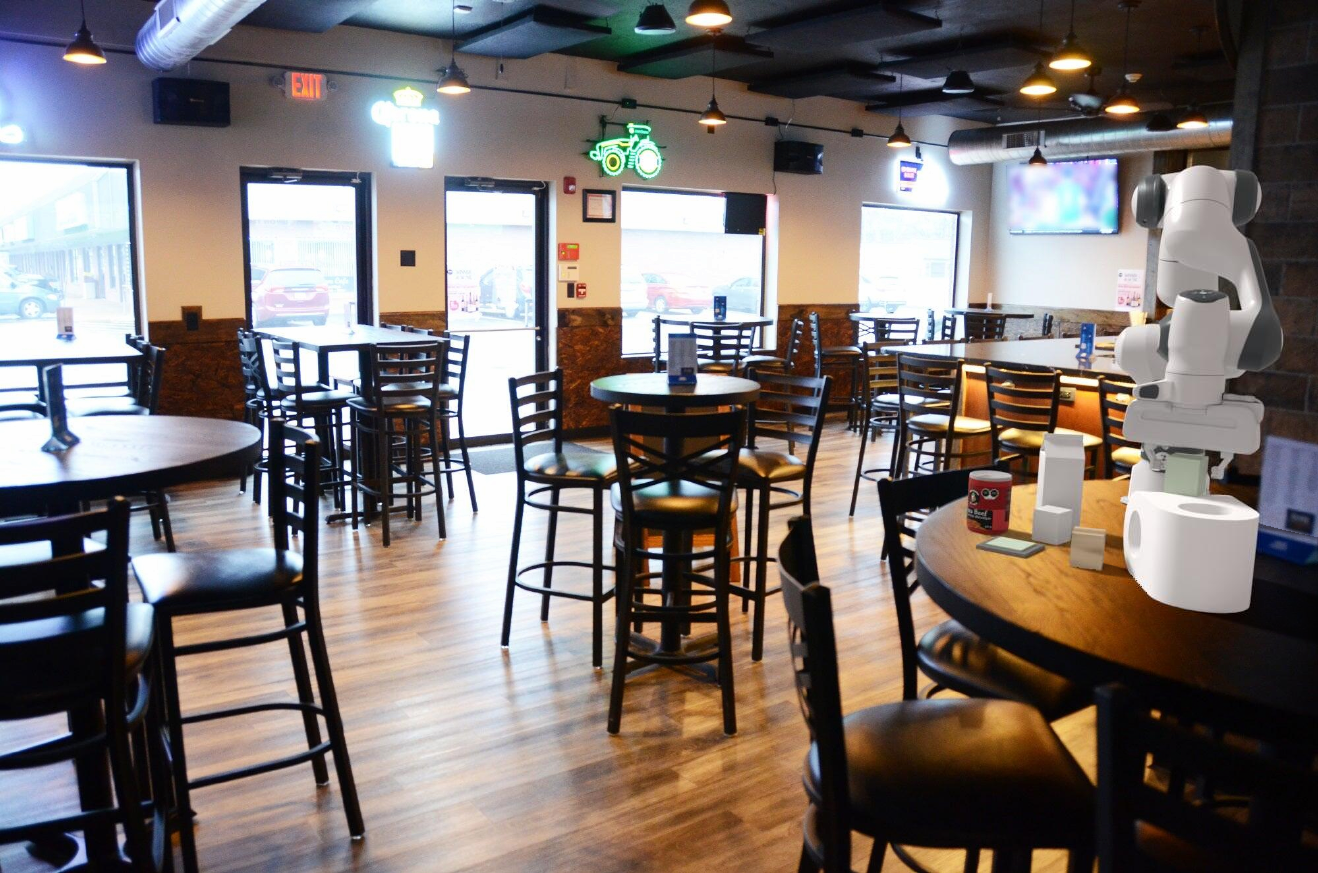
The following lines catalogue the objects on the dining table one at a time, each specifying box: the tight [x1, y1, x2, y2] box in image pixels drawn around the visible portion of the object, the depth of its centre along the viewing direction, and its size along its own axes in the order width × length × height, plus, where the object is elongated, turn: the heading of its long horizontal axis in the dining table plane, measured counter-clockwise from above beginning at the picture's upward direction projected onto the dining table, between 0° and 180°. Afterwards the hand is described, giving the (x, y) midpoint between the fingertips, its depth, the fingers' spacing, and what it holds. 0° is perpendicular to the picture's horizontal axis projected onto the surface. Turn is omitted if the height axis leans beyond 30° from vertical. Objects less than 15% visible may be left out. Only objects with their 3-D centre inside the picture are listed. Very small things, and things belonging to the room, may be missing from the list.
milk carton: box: [1035, 432, 1086, 536], centre depth 202 cm, size 7×7×19 cm
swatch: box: [975, 535, 1046, 559], centre depth 190 cm, size 9×9×1 cm
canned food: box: [965, 470, 1013, 535], centre depth 202 cm, size 8×8×11 cm
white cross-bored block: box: [1122, 491, 1260, 614], centre depth 167 cm, size 14×14×25 cm
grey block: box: [1031, 505, 1073, 546], centre depth 195 cm, size 5×5×6 cm
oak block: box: [1069, 526, 1107, 571], centre depth 179 cm, size 5×5×6 cm
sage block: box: [1164, 453, 1210, 497], centre depth 172 cm, size 5×5×6 cm
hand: (1185, 474), depth 172 cm, fingers open, 8 cm apart
